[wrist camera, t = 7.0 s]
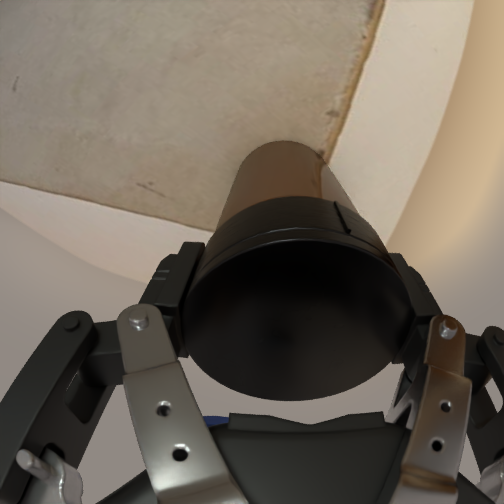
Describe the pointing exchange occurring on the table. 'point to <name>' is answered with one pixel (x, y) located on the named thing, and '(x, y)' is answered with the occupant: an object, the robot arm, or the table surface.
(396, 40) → the table surface
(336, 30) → the table surface
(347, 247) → the lid
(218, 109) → the table surface
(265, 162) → the jar
